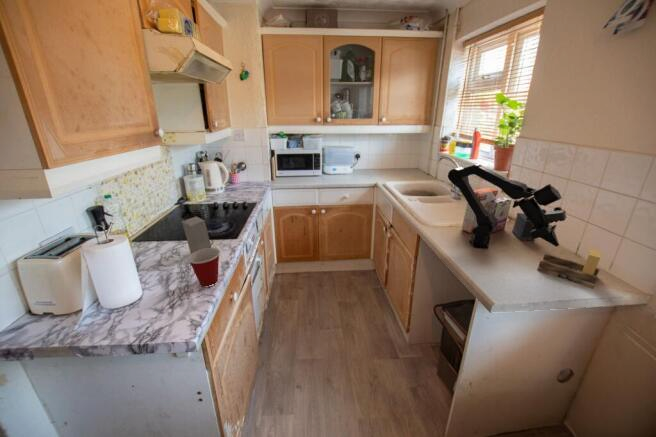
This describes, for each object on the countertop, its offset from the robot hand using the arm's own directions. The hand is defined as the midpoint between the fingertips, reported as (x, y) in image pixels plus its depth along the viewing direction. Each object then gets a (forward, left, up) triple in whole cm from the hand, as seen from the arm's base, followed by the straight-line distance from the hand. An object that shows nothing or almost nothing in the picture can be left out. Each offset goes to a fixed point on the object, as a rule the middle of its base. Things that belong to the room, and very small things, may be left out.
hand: (557, 245), depth 112 cm
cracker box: (-16, +35, -10) cm, 40 cm away
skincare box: (-144, -2, -10) cm, 144 cm away
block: (+8, -7, -8) cm, 14 cm away
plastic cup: (-131, -22, -10) cm, 133 cm away
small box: (+4, +29, -10) cm, 31 cm away
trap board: (+4, -3, -10) cm, 11 cm away
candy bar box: (-7, +36, -10) cm, 38 cm away
